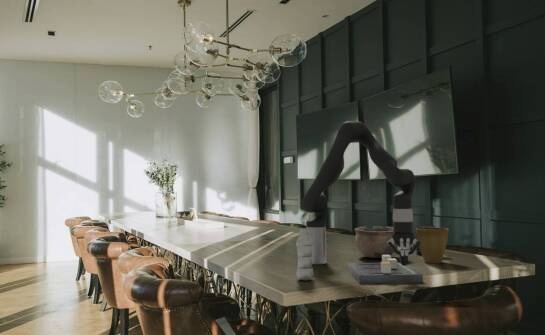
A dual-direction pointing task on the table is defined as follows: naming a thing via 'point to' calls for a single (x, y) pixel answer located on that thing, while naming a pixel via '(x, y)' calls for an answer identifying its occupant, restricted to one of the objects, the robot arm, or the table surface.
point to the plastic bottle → (304, 256)
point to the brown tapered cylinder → (417, 239)
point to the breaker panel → (374, 274)
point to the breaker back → (385, 258)
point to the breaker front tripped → (385, 267)
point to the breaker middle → (392, 263)
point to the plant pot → (432, 243)
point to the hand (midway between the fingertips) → (404, 265)
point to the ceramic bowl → (374, 241)
